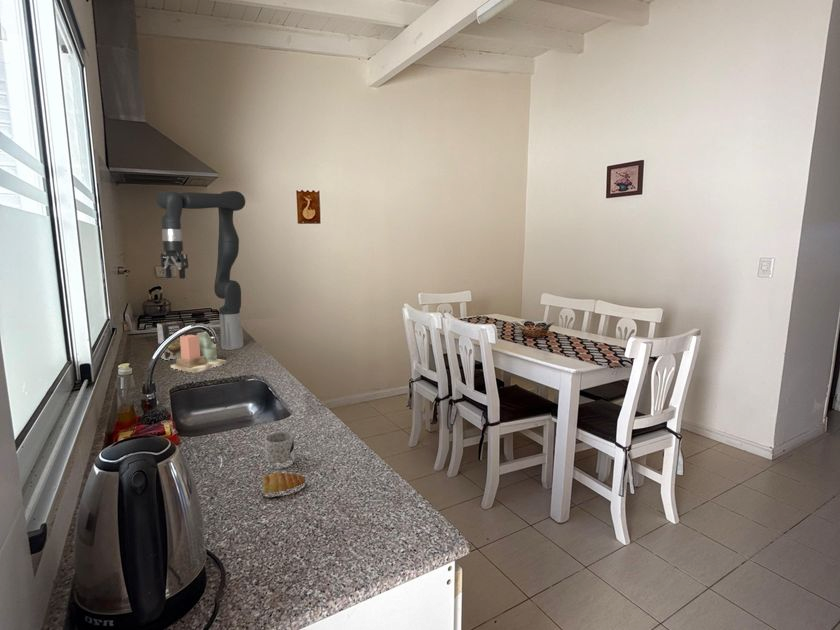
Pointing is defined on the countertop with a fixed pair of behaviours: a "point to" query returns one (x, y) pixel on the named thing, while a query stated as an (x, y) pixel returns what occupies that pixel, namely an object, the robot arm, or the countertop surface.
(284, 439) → the mug
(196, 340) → the brick block
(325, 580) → the countertop surface
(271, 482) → the pastry
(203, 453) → the countertop surface
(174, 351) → the coffee box
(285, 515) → the countertop surface
